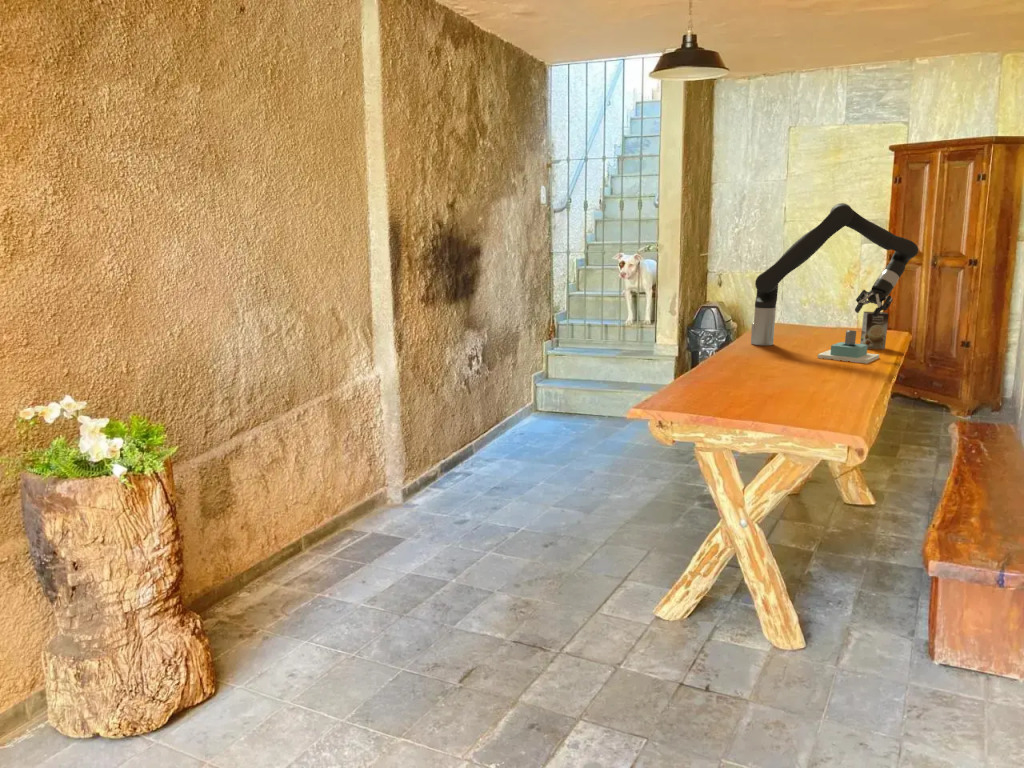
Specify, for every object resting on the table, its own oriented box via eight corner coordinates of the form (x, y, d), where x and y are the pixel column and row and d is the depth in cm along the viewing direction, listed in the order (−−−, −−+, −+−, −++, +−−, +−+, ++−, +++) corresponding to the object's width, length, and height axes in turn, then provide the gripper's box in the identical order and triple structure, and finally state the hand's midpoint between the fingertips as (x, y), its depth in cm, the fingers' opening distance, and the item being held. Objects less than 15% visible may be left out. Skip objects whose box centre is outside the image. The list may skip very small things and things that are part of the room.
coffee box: (864, 349, 359) (867, 313, 355) (859, 346, 365) (862, 311, 362) (885, 349, 358) (889, 313, 354) (880, 346, 364) (883, 311, 361)
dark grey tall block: (842, 354, 337) (844, 330, 335) (845, 353, 340) (848, 329, 338) (851, 355, 335) (854, 331, 333) (855, 354, 338) (857, 330, 335)
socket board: (817, 357, 338) (818, 345, 337) (831, 352, 350) (832, 340, 349) (866, 363, 326) (868, 350, 324) (879, 358, 337) (880, 345, 336)
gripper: (867, 275, 346) (847, 305, 345) (897, 281, 334) (875, 313, 333) (874, 284, 350) (854, 315, 349) (903, 291, 338) (882, 322, 338)
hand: (864, 314), depth 341 cm, fingers open, 8 cm apart
